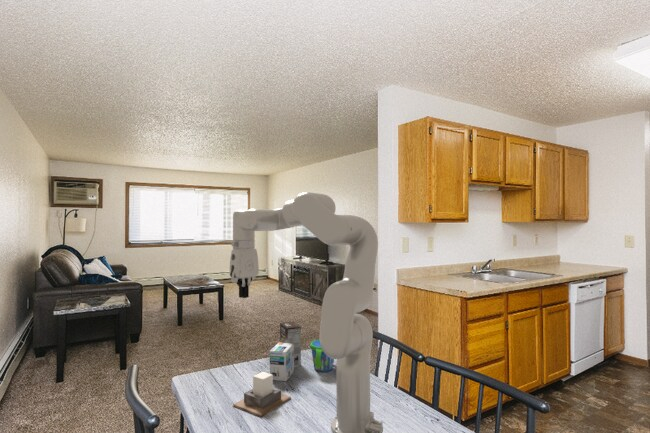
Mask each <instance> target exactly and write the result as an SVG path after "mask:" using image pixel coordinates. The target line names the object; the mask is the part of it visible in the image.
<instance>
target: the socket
mask: <svg viewBox="0 0 650 433" xmlns="http://www.w3.org/2000/svg"><path fill="white" fill-rule="evenodd" d="M291 397H292V396H290V395H287V394H284V393H282V389H279V388H276V387H273V392H272V393H271V394H269V395H267V396H265V397H264V398H262V397H259V396H257V395H254V394H253V388H251V389H250V390H248V391H246V392H244V393H243V399H241V400H239V401H237V402H235V403H234V404H233V407H234V408H237V409H240V410H242V411H244V412H247V413H248V414H249V413H250V414H253V415H255V416H257V417H260V418H262V417H263V416H265V415H267V414H269V413H270V412H272V411H273V410H275V409H276V408H279V407H280V406H281V405H283V404H285V403H286V402H288V401H289V400H291V399H292V398H291Z"/></svg>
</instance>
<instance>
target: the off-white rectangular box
mask: <svg viewBox="0 0 650 433" xmlns="http://www.w3.org/2000/svg"><path fill="white" fill-rule="evenodd" d="M273 383H274V380H273V375H272V374H270V372H269V373H268V372H266V371H261V372H259V373H257V374H255V375H253V376H252V385H253V386H252V389H253V394H254V395H257V396H259V397H262V398H264V397H265V396H267V395H269V394H271V393H272V392H273V388H274V387H273V385H274V384H273Z"/></svg>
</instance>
